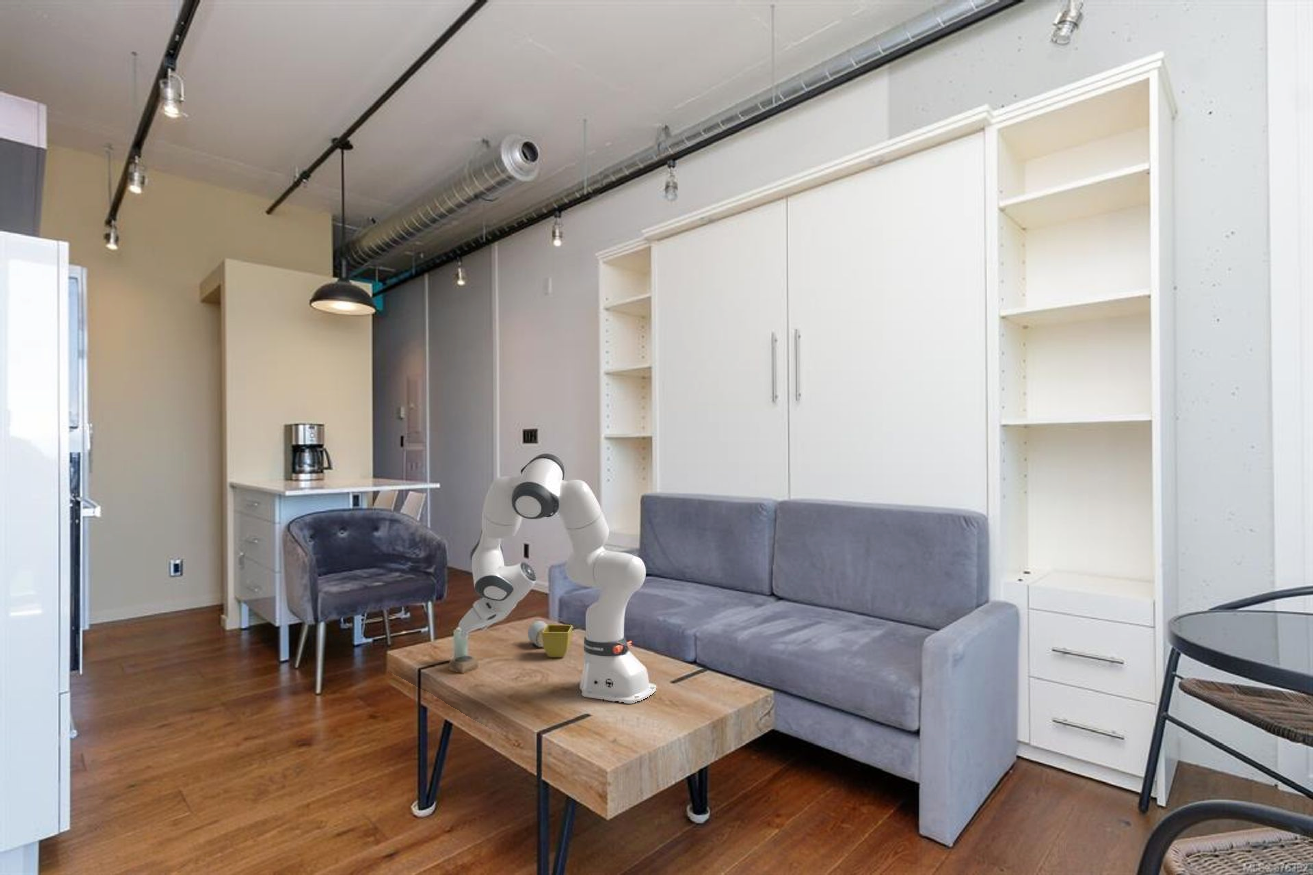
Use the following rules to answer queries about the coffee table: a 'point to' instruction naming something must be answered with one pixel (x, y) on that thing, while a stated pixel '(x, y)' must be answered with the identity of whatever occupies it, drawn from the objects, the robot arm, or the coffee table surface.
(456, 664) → the base
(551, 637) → the flower pot
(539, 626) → the ceramic mug
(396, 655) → the coffee table surface
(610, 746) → the coffee table surface
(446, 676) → the coffee table surface
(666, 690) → the coffee table surface
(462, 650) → the column
